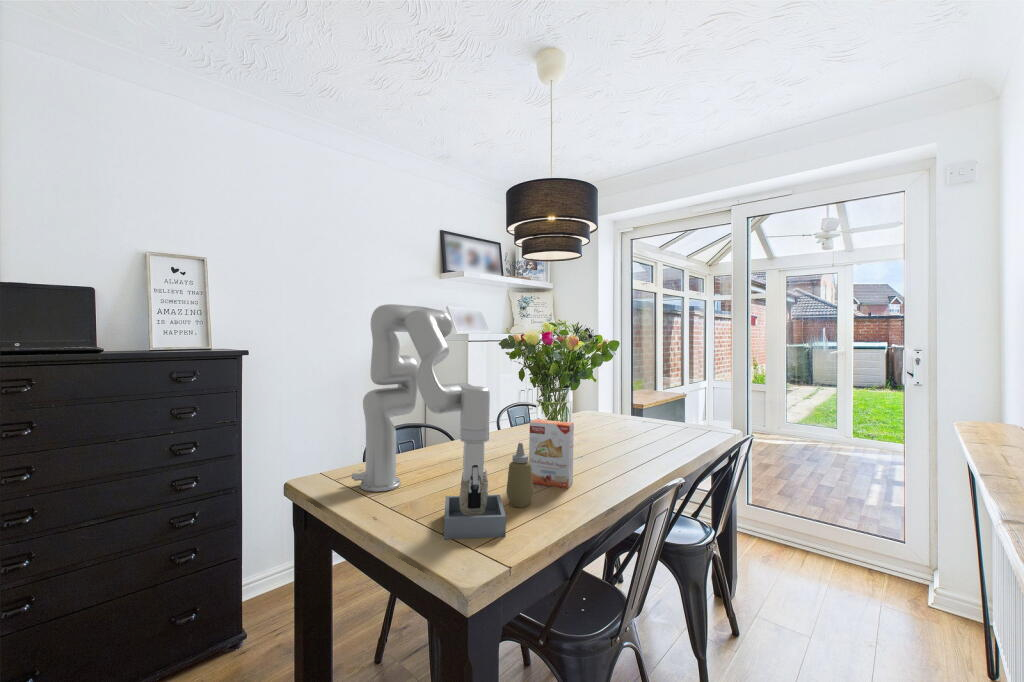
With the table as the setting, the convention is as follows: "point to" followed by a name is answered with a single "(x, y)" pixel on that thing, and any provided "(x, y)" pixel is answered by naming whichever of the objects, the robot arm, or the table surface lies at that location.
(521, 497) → the squeeze bottle
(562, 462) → the cracker box
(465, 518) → the bin
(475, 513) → the carving
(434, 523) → the table surface
